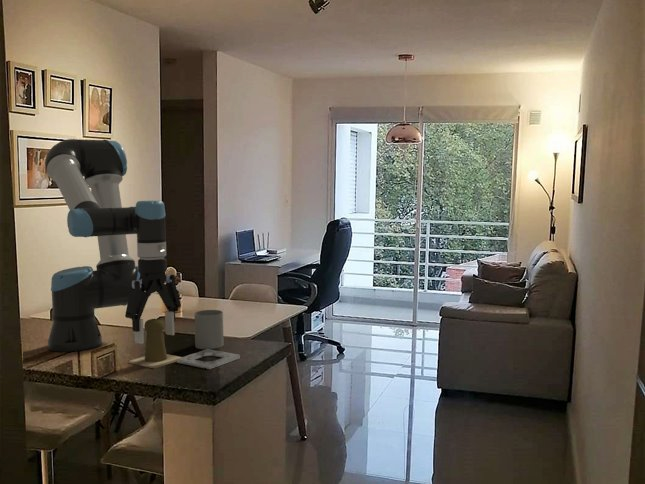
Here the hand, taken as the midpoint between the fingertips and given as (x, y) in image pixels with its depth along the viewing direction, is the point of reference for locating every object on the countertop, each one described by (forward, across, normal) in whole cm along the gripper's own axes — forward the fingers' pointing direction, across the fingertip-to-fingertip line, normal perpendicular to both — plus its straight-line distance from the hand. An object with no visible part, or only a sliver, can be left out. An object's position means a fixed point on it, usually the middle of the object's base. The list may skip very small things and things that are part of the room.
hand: (155, 338), depth 171 cm
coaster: (+6, 0, 0) cm, 6 cm away
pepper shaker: (+6, 0, 0) cm, 6 cm away
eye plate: (+6, +8, -12) cm, 16 cm away
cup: (+7, +20, -1) cm, 21 cm away
